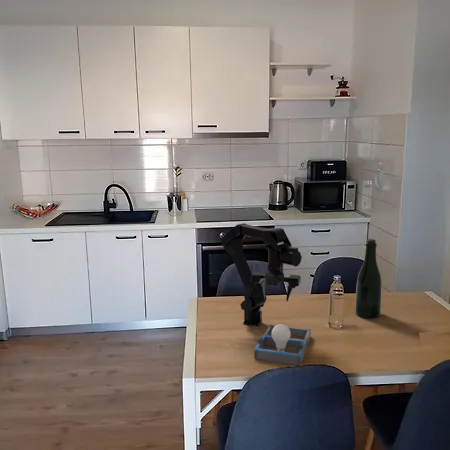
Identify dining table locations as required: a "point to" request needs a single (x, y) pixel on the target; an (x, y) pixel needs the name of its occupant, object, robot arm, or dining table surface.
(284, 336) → the light bulb
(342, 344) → the dining table surface
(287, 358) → the tray organiser
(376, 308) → the green wine bottle
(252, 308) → the robot arm
